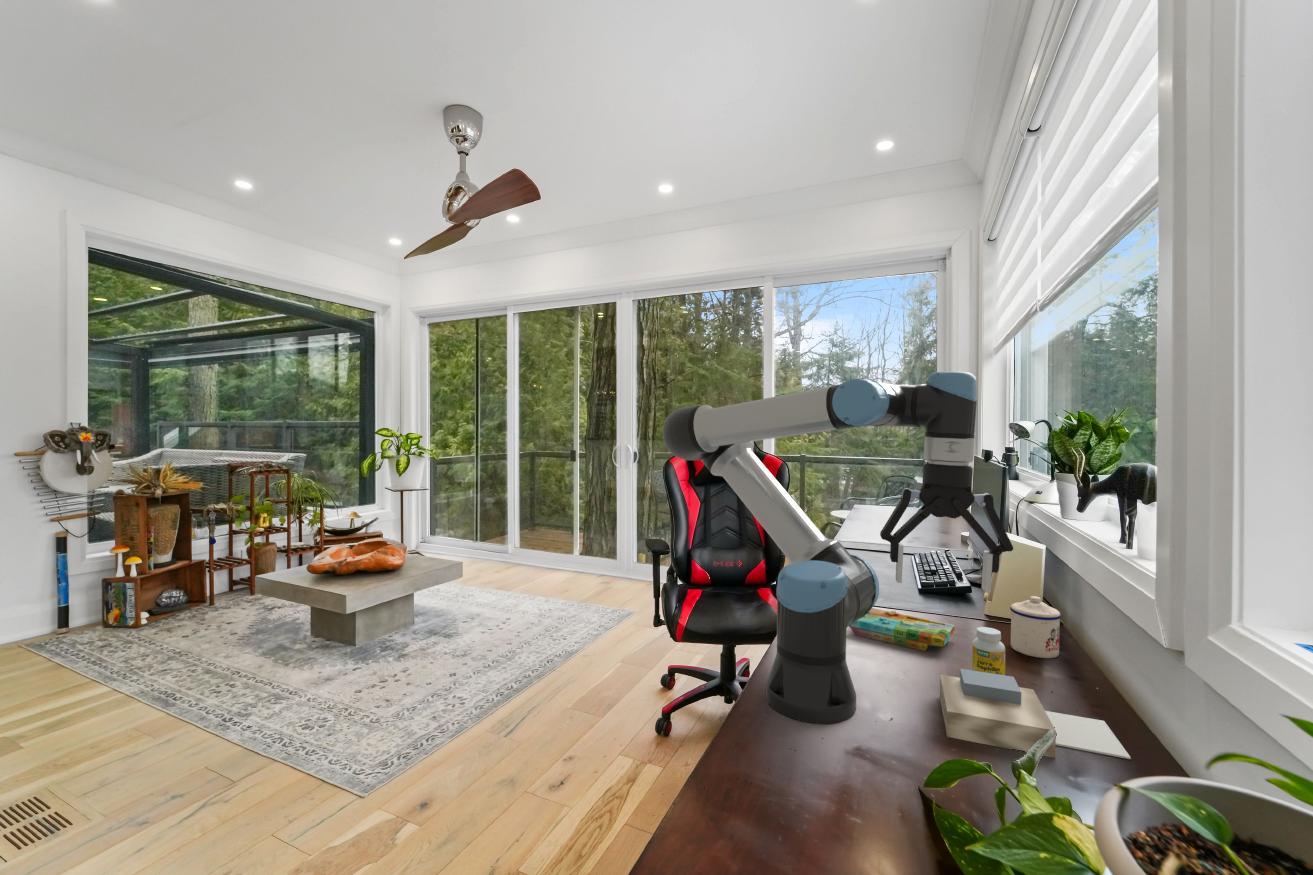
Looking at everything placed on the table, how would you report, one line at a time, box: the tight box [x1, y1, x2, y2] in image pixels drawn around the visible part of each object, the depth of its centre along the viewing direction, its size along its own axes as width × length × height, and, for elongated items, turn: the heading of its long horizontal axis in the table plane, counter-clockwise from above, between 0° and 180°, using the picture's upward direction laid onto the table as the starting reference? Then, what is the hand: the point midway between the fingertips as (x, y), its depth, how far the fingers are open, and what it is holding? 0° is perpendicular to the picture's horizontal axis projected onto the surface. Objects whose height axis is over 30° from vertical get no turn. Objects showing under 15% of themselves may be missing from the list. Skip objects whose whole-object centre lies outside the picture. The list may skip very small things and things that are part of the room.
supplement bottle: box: [971, 626, 1006, 676], centre depth 106 cm, size 5×5×10 cm
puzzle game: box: [848, 607, 956, 652], centre depth 127 cm, size 12×5×20 cm
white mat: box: [1045, 710, 1132, 760], centre depth 88 cm, size 10×11×1 cm
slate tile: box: [959, 668, 1021, 705], centre depth 93 cm, size 8×6×2 cm
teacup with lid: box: [1009, 595, 1062, 659], centre depth 121 cm, size 12×9×12 cm
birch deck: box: [939, 674, 1057, 759], centre depth 90 cm, size 14×14×4 cm
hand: (941, 585), depth 96 cm, fingers open, 13 cm apart
